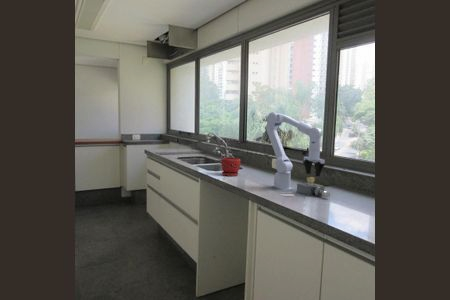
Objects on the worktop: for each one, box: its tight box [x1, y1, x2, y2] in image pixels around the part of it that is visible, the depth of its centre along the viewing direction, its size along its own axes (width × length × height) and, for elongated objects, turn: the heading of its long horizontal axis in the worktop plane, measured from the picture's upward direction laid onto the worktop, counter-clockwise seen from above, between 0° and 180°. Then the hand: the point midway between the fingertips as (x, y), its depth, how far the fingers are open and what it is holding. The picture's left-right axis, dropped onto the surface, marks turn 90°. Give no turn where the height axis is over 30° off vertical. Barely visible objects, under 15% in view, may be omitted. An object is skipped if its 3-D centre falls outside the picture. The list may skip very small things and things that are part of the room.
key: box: [306, 176, 316, 186], centre depth 170 cm, size 3×3×7 cm
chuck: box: [296, 182, 331, 198], centre depth 167 cm, size 18×10×5 cm, turn 26°
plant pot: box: [221, 157, 241, 177], centre depth 222 cm, size 13×13×12 cm
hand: (312, 175), depth 173 cm, fingers open, 7 cm apart
